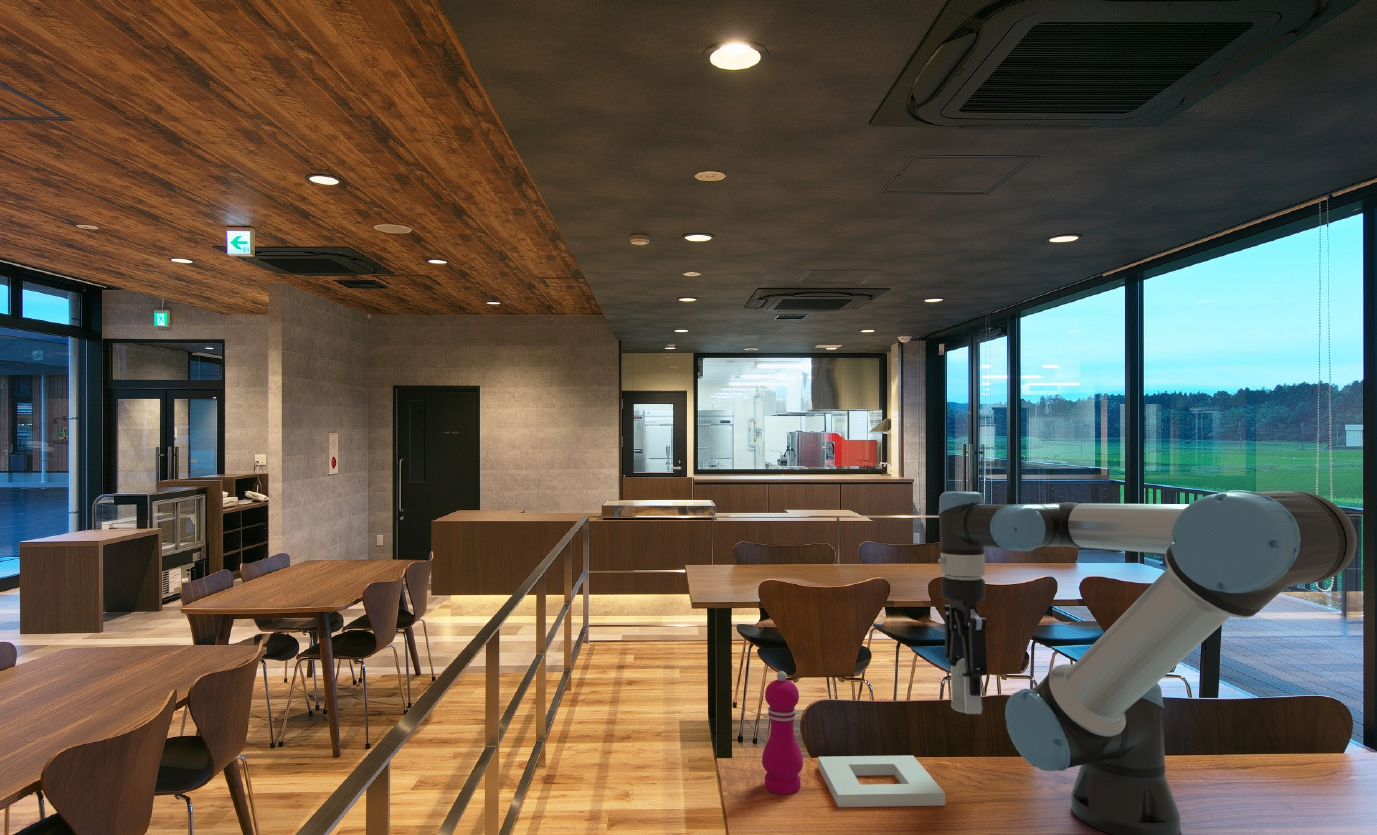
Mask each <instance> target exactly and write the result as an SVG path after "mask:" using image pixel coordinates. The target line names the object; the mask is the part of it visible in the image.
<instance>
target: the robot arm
mask: <svg viewBox="0 0 1377 835" xmlns="http://www.w3.org/2000/svg"><path fill="white" fill-rule="evenodd" d="M938 505H939V506H938V514H937V515H938V523H939V547H940V550H939V551H940V558H938V560H937V561H938V563H939V564H940V573H941V574H942V575H943V576H942V577H941V578H940V590H941V591H940V593H941V594H940V595H941V598H943V599H945V600H948V601H949V604H944V605H942V606H943V608H942V610H943V616H944V656H945V659H946V660H947V659H948V663H949V665H950V691H951V694H950V695H951V703H952V702H953V701H954V700H955V699H957V698H959V685H958V684H957V680H958V679H957V678H956V676H957V675H958V674H959V673H958V671H957V669H956V665H957V662H958V661H959V660H960V659H962V658H964V660H965V667H966V673H962V675H963V677H964V700H965V713H964V714H966V715H981V714H983V706H982V679H981V678H982V677H983V676H987V674H988V664H987V647H986V646H987V644H986V642H987V641H986V640H987V639H986V628H987V618H985V617H980V614H979V610H978V604H977V603H978V602H982V601H983V600H985V599H986V580H984V578H983V577H984V576H985V575H986V569H985V568H986V564H985V562H986V560H985V559H986V558H985V547H987V548H992V549H993V548H994V549H999V550H1000V549H1001V550H1007V551H1009V552H1031V551H1034V550H1035V549H1037V548H1044V547H1045V548H1046V547H1069V548H1086V549H1098V550H1099V549H1100V550H1101V549H1102V550H1110V551H1111V550H1112V551H1113V550H1114V551H1124V552H1125V551H1127V552H1137V553H1138V552H1140V553H1151V554H1152V553H1153V554H1164V559H1165V564H1166V566H1167V568H1166V569H1165V570H1164V572H1163V573H1162V574H1161V575H1159V577H1158V578H1156V580H1155V581H1154V582H1153V583H1152V584H1150V586H1149V587H1148V588H1147V589H1146V590H1145V591H1143V593H1142V594H1141V595H1140V596H1139V597H1138V598H1137V599H1136V600H1135V601H1134V602H1133V603H1132V605H1130V606H1129V607H1128V608H1127V610H1126V611H1124V612H1123V613H1122V615H1120V616H1119V618H1118V619H1117V620H1116V621H1115V622H1114V623H1113V624H1112V625H1111V626H1110V627H1109V628H1108V629H1107V630H1105V632H1104V633H1103V634H1102V635H1101V636H1100V637H1099V638H1098V639H1097V640H1096V641H1095V642H1094V643H1093V644H1092V645H1091V646H1090V647H1089V648H1088V649H1087V651H1086V652H1084V654H1083V655H1081V656H1080V657H1079V658H1078V659H1077V660H1076V661H1075V663H1074V664H1065V663H1064V664H1061V665H1058V666H1056V667H1054V668H1053V669H1052V670H1051V671H1050V672H1049V673H1048V674H1047V675H1046V676H1045V677H1044V678H1043V679H1042V680H1041V681H1040V682H1039V683H1038V684H1037V685H1036V686H1034V687H1033V688H1023V689H1020V690H1018V691H1016V692H1014V693H1012V694H1011V695H1010V696H1009V698H1008V699H1007V702H1006V704H1005V710H1004V711H1005V714H1004V719H1005V721H1006V722H1005V723H1006V729H1007V733H1008V735H1009V738H1010V739H1011V742H1012V744H1013V746H1014V747H1015V749H1016V751H1017V752H1018V753H1019V755H1020V756H1021V757H1022V758H1023V759H1024V760H1025V762H1027V763H1029V764H1030V766H1033V767H1034V768H1037V769H1039V770H1040V771H1044V772H1054V771H1059V772H1064V771H1066V770H1067V769H1070V768H1073V767H1074V768H1075V767H1079V770H1078V773H1077V776H1076V779H1075V782H1074V785H1073V787H1072V789H1071V790H1072V791H1071V793H1070V794H1071V796H1070V797H1071V798H1070V799H1071V802H1070V803H1071V810H1072V813H1073V814H1074V815H1075V816H1076V817H1077V818H1078V819H1079V820H1080V821H1081V822H1083V823H1084V824H1086V825H1088V826H1090V827H1092V828H1094V829H1096V830H1099V831H1100V832H1104V833H1106V834H1110V835H1180V834H1181V830H1182V829H1181V828H1182V827H1181V814H1180V811H1179V809H1178V806H1177V803H1176V800H1175V798H1174V795H1173V793H1172V790H1171V787H1170V785H1169V783H1168V780H1167V779H1168V778H1167V776H1166V766H1165V765H1166V759H1165V758H1166V757H1165V755H1166V754H1165V728H1164V727H1165V726H1164V725H1165V724H1164V709H1165V705H1164V702H1163V694H1162V687H1161V686H1160V685H1159V682H1160V681H1161V680H1162V679H1163V678H1164V677H1165V676H1166V675H1168V674H1169V673H1170V672H1172V670H1173V669H1174V668H1175V667H1177V666H1178V665H1179V663H1181V662H1182V661H1183V660H1184V659H1185V658H1186V657H1187V656H1188V655H1190V653H1192V652H1193V651H1194V650H1195V649H1196V648H1197V647H1198V646H1200V645H1201V644H1202V643H1203V642H1204V641H1206V640H1207V639H1208V637H1210V636H1211V635H1212V634H1213V633H1214V632H1215V631H1216V630H1217V629H1219V628H1220V627H1221V626H1222V625H1223V624H1224V623H1226V621H1227V620H1228V619H1230V618H1231V617H1233V618H1234V617H1235V618H1242V619H1243V618H1244V619H1246V618H1247V619H1249V618H1251V617H1254V616H1255V615H1256V614H1257V613H1259V612H1260V611H1261V610H1262V609H1264V608H1265V606H1266V605H1268V604H1269V603H1271V601H1272V600H1274V599H1275V598H1276V597H1277V596H1278V595H1279V594H1281V593H1282V592H1283V591H1284V590H1285V589H1287V588H1289V587H1291V586H1292V587H1293V586H1299V585H1306V584H1307V585H1308V584H1316V583H1319V582H1325V581H1327V580H1329V579H1331V578H1333V577H1335V576H1338V574H1341V572H1343V571H1344V570H1345V569H1346V568H1347V567H1348V566H1349V564H1350V563H1351V562H1352V560H1353V558H1354V557H1355V555H1356V551H1357V547H1358V546H1357V545H1358V539H1357V533H1356V532H1357V531H1356V529H1355V527H1354V525H1353V522H1352V520H1351V519H1350V517H1349V516H1348V515H1347V514H1346V513H1345V511H1344V510H1343V509H1342V508H1340V506H1338V505H1337V504H1335V503H1334V502H1332V501H1331V500H1329V499H1327V498H1325V497H1324V496H1320V495H1318V494H1315V493H1311V492H1307V491H1302V490H1278V491H1277V490H1275V491H1269V490H1268V491H1250V490H1227V491H1221V492H1219V493H1215V494H1208V495H1205V496H1203V497H1201V498H1198V499H1196V500H1195V501H1193V502H1191V503H1190V504H1189V503H1188V504H1186V503H1185V504H1178V503H1177V504H1176V503H1175V504H1173V503H1172V504H1169V503H1166V504H1165V503H1088V502H1087V503H1077V502H1072V501H1071V502H1069V501H1067V502H1054V503H1053V502H1051V503H1023V504H1022V503H1016V504H1015V503H1013V504H1012V503H1011V504H994V503H993V504H991V503H984V501H983V495H982V493H980V492H979V491H944V492H942V493H941V494H940V496H939V504H938Z"/></svg>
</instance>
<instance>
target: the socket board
mask: <svg viewBox="0 0 1377 835" xmlns="http://www.w3.org/2000/svg"><path fill="white" fill-rule="evenodd" d="M817 768H818V771H819V772H820V774H821V776H822V778H823V780H824V783H825V784H826V786H827V788H828V790H829V791H830V792H829V793H830V794H831V796H832V798H833V799H834V800H833V801H834V802H835V804H836V806H837V807H838V808H864V807H865V808H866V807H867V808H868V807H869V808H870V807H872V808H875V807H928V806H929V807H933V806H939V807H940V806H944V807H945V806H946V793H945V791H944V790H943V789H942V788H941V787H940V785H938V783H937V782H936V781H935V779H933V777H932V776H931V775H930V774H929V772H928V771H927V769H925V767H923V765H922V764H921V763H920V762H919V761H918V760H917V758H916V757H915V756H914V755H852V756H850V755H849V756H848V755H847V756H846V755H845V756H843V755H842V756H839V755H838V756H834V755H833V756H818V757H817ZM857 776H862V777H863V776H894V777H895V778H896V780H898V782H899V783H896V784H895V783H882V784H881V783H880V784H872V783H871V784H868V783H867V784H861V783H860V782H859V779H858V777H857Z"/></svg>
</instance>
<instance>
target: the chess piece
mask: <svg viewBox="0 0 1377 835" xmlns="http://www.w3.org/2000/svg"><path fill="white" fill-rule="evenodd" d="M956 669H957V671H958V673H959V674H958V675H957V676H956V678H957V679H958V680H957V684H958V685H959V698H957V699H955V700H954V701H953V702H952V701H951V703H950V707H951V708H952V710H954V711H956V712H958V713H964V714H966V713H965V700H964V677H963V675H962V673H966V667H965V660H964V658H962V659H960V660H959V661H958V662H957V665H956Z"/></svg>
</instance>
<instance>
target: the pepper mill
mask: <svg viewBox="0 0 1377 835" xmlns="http://www.w3.org/2000/svg"><path fill="white" fill-rule="evenodd" d="M787 678H788V676H787V673H786V672H785V671H783V670H781V671H779V672H778V673H777V674H776V679H775V680H773V681H770V682H769V684H768V685H767V686H766V688H765V691H764V692H765V693H764V697H765V701H766V703H767V704H768V705H769V707H768V708H767V711H768V713H767V717H769V720H770V732H769V736H768V740H767V742H766V744H765V747H764V749H763V752H762V757H761V764H762V767H763V769H764V771H765V772H766V773H765V775H764V787H765V790H767V791H769V792H771V793H773V794H777V795H791V794H792V795H793V794H796V793H798V792H799V791H800V789H801V776H800V775H799V773H800V772H801V771H802V770H803V767H804V758H803V754H802V751H801V749H800V746H799V743H798V742H797V739H796V736H795V732H794V724H795V723H794V722H795V719H797V709H796V707H795V706H797V704H798V703H799V700H800V694H799V693H800V692H799V690H798V687H797V686H796V685H795V683H793V682H792V681H791V680H788V679H787Z"/></svg>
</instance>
